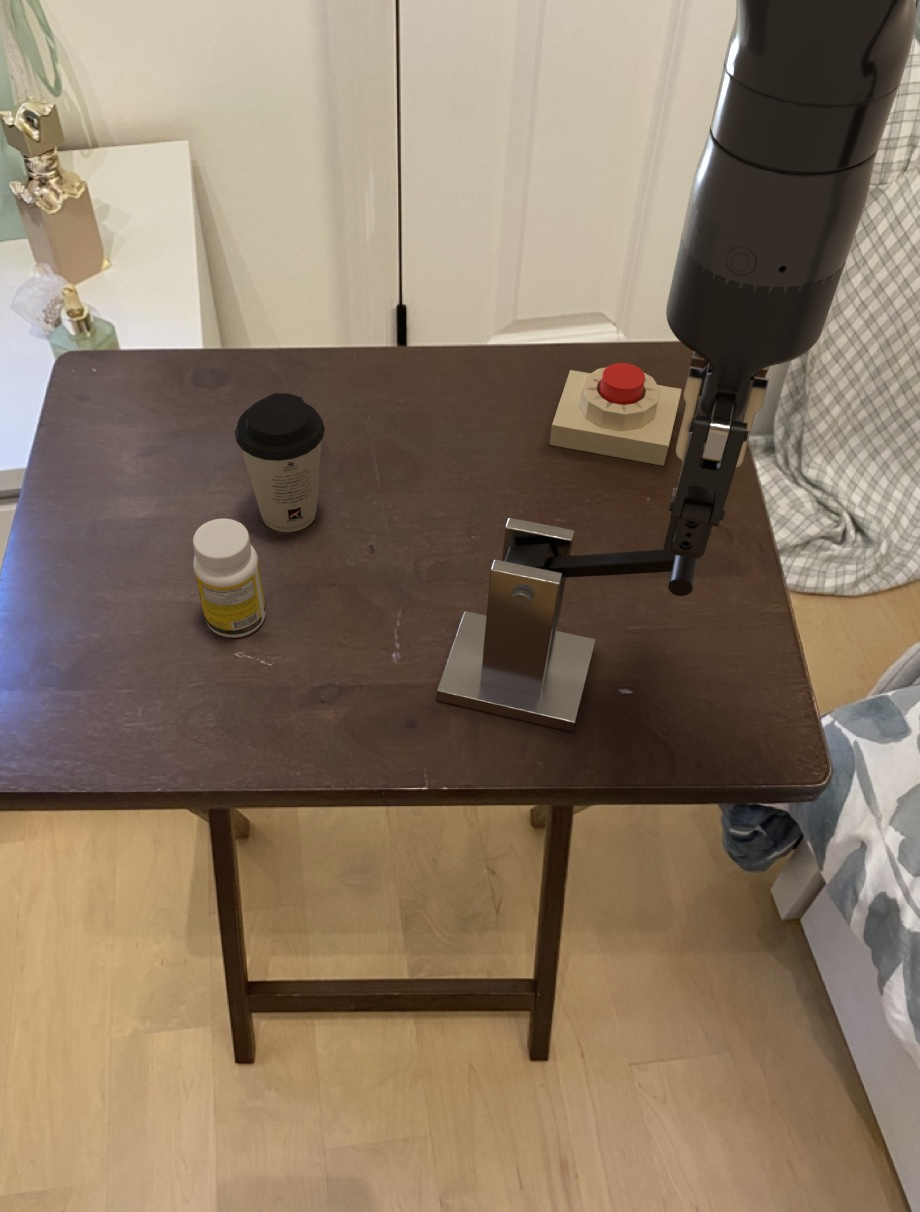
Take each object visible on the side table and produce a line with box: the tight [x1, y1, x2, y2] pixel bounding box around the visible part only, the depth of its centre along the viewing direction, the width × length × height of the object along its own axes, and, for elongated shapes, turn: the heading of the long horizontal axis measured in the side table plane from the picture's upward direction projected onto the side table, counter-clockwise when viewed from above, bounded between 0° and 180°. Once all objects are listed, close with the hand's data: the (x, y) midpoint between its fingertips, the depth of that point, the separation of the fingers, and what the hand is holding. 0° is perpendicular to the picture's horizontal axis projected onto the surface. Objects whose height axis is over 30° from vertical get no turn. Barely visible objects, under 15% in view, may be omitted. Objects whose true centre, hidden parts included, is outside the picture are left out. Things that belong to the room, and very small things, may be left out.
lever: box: [505, 543, 700, 597], centre depth 69 cm, size 12×5×2 cm, turn 73°
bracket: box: [436, 517, 596, 733], centre depth 75 cm, size 10×8×13 cm
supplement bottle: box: [192, 518, 267, 638], centre depth 80 cm, size 5×5×8 cm
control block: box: [549, 366, 683, 467], centre depth 95 cm, size 10×8×4 cm
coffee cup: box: [234, 392, 326, 533], centre depth 86 cm, size 7×7×10 cm
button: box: [600, 362, 645, 405], centre depth 93 cm, size 4×4×2 cm
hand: (692, 501), depth 63 cm, fingers open, 8 cm apart
